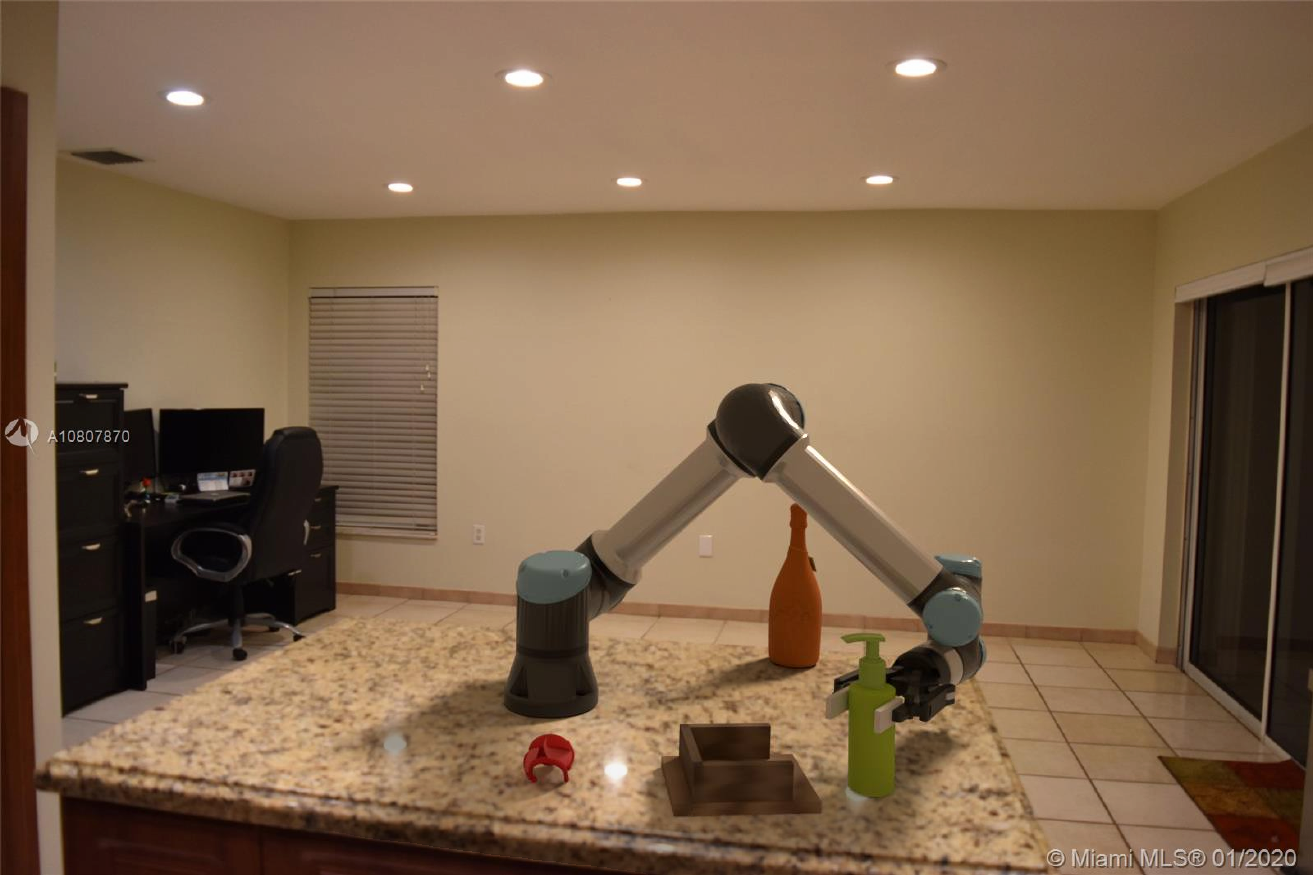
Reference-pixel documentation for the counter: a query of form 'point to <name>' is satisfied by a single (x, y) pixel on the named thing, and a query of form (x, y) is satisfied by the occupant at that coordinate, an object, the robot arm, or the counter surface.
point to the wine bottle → (795, 603)
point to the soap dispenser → (870, 724)
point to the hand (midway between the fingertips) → (852, 715)
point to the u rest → (734, 773)
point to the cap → (549, 755)
